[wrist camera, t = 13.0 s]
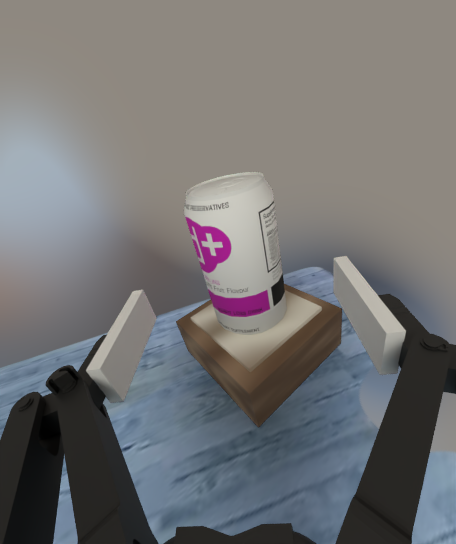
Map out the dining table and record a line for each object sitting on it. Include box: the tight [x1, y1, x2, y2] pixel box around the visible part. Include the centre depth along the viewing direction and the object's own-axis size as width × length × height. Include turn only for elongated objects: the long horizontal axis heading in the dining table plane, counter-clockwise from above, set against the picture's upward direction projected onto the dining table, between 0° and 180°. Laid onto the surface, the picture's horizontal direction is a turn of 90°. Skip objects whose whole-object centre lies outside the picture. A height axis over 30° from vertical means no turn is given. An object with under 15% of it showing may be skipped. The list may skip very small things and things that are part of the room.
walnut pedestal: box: [176, 284, 342, 427], centre depth 31 cm, size 14×14×6 cm
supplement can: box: [184, 172, 287, 335], centre depth 26 cm, size 8×8×15 cm
